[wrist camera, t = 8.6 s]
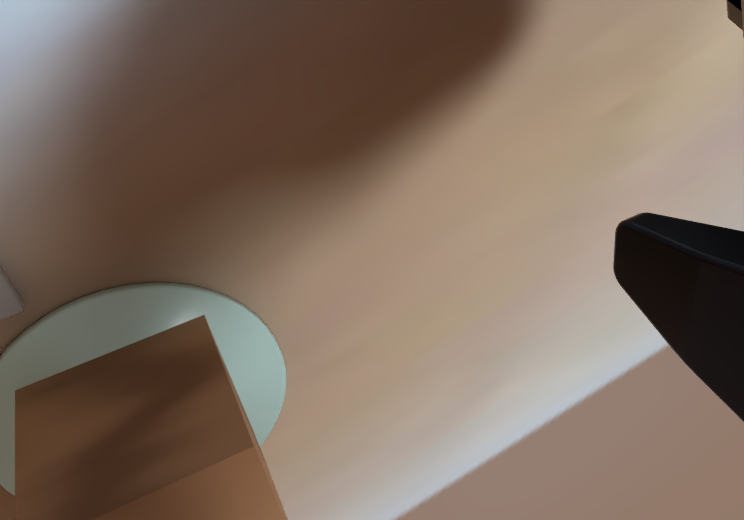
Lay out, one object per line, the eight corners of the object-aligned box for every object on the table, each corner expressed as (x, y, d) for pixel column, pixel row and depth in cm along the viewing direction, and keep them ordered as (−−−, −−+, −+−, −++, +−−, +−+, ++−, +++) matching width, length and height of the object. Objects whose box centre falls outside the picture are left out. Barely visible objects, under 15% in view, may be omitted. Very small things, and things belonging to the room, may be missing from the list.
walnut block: (204, 314, 22) (253, 445, 17) (253, 431, 26) (305, 565, 21) (15, 390, 21) (14, 555, 16) (95, 502, 24) (114, 663, 20)
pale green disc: (239, 237, 22) (242, 243, 21) (309, 434, 28) (312, 441, 27) (-94, 364, 19) (-96, 372, 19) (61, 549, 25) (61, 558, 25)
